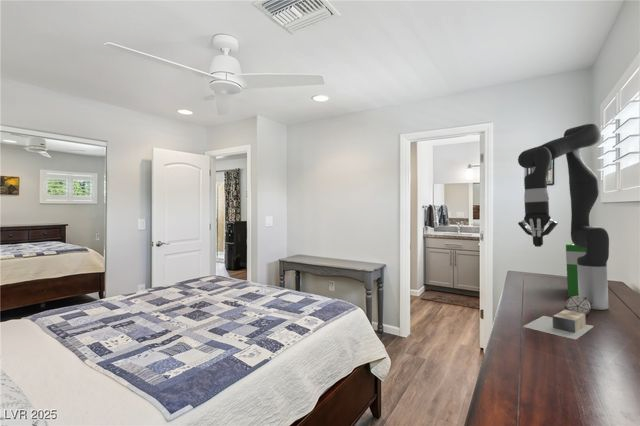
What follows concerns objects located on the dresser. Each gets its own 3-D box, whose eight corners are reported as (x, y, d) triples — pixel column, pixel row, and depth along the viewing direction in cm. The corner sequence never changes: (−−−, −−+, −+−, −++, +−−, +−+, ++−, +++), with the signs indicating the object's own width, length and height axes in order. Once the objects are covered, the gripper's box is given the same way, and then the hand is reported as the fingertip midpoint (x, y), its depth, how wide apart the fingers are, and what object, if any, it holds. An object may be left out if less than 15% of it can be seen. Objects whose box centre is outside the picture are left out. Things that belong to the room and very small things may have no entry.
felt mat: (543, 316, 119) (543, 315, 119) (594, 327, 107) (594, 326, 107) (522, 327, 109) (522, 326, 109) (576, 340, 97) (575, 339, 97)
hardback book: (574, 288, 158) (572, 241, 159) (593, 291, 153) (591, 242, 153) (568, 295, 146) (565, 244, 146) (588, 298, 141) (586, 245, 141)
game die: (585, 327, 117) (604, 310, 111) (561, 318, 118) (578, 301, 113) (578, 309, 124) (594, 292, 118) (555, 301, 126) (570, 284, 120)
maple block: (552, 316, 107) (564, 309, 113) (553, 328, 107) (564, 320, 113) (574, 320, 102) (585, 313, 108) (574, 333, 102) (585, 325, 108)
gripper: (512, 202, 122) (514, 246, 122) (552, 199, 111) (555, 248, 111) (521, 202, 126) (523, 244, 126) (560, 199, 115) (562, 246, 115)
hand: (538, 246), depth 118 cm, fingers closed
